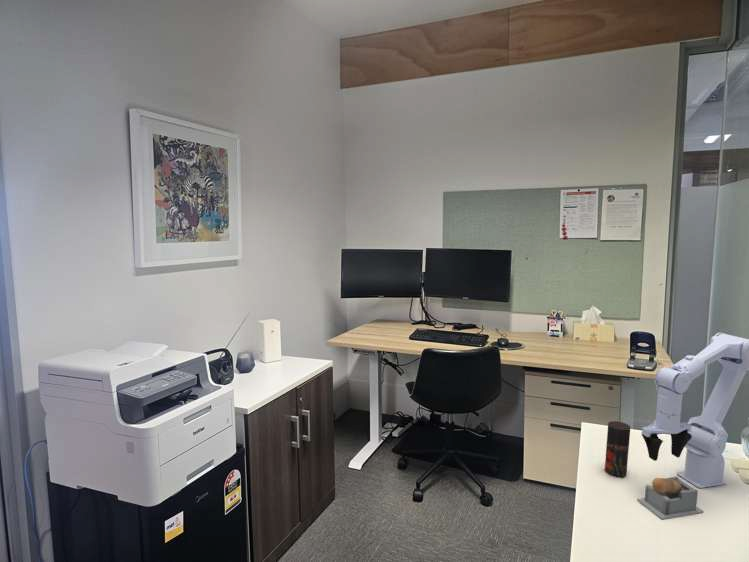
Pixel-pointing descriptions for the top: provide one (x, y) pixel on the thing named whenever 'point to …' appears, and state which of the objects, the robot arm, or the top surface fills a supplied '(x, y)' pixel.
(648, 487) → the socket
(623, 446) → the deodorant
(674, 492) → the dowel
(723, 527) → the top surface
